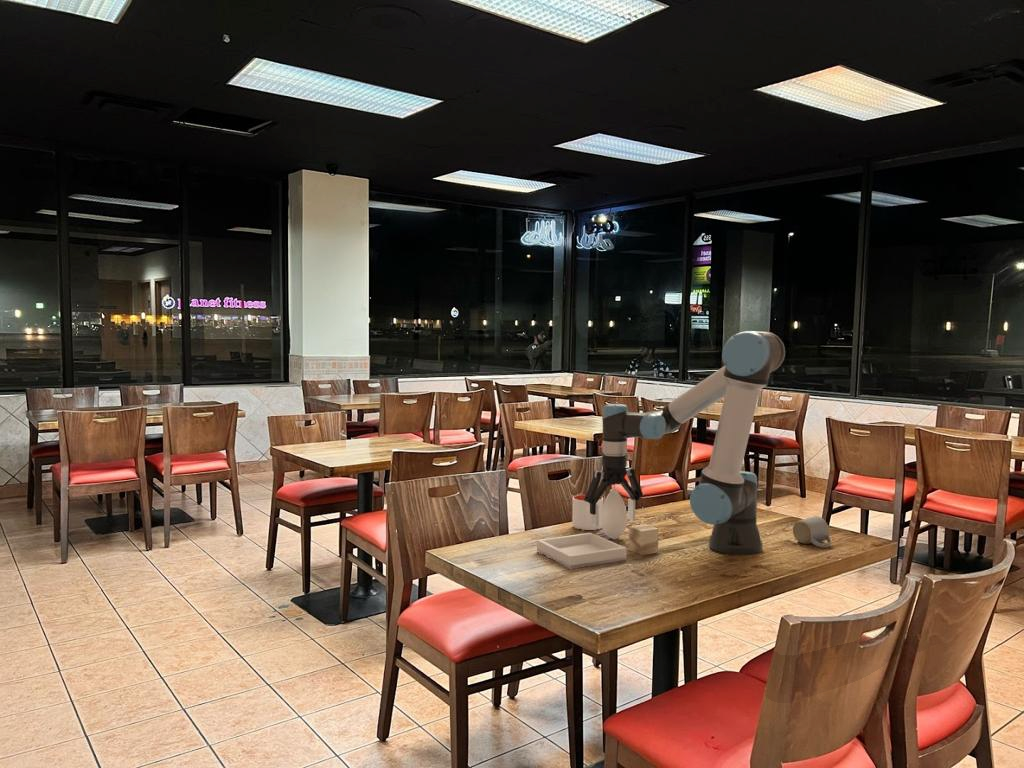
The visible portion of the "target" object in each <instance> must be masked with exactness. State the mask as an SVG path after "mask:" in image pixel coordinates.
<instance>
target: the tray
mask: <svg viewBox="0 0 1024 768" xmlns="http://www.w3.org/2000/svg"><path fill="white" fill-rule="evenodd" d="M537 551H539V552H540V553H542V554H544V555H546V556H548V557H550V558H551V559H553V560H555V561H556V562H555V561H554V562H555V563H557V562H558V563H557V564H559V563H560V564H559V565H561V564H562V565H561V566H563V565H564V566H563V567H564V568H566V567H567V568H566V569H568V568H569V569H568V570H574V569H573V568H575V569H580V568H579V567H581V568H586V567H585V566H588V567H592V566H591V565H594V566H598V564H600V565H604V564H605V563H606V564H610V563H611V564H612V563H617V562H623V561H627V547H625V546H623V545H621V544H619V543H615V542H614V541H610V540H609V539H607V538H605V537H602V536H600V535H598V534H595V533H592V532H586V533H585V532H584V533H578V534H573V535H572V534H571V535H564V536H558V537H557V536H555V537H549V538H541V539H537V540H536V552H537ZM540 553H539V554H540ZM542 554H541V555H542ZM544 555H543V556H544ZM546 556H545V557H546ZM551 559H550V560H551ZM553 560H552V561H553Z"/></svg>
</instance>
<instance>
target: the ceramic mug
mask: <svg viewBox="0 0 1024 768" xmlns="http://www.w3.org/2000/svg"><path fill="white" fill-rule="evenodd" d="M792 526H793V527H792V534H793V536H794V538H795V540H796V541H797V542H799V543H801V544H802V545H803V544H805V545H807V544H813V545H815V546H816V547H818V548H823V549H826V548H827V549H828V548H830V546H831V544H832V539H831V537H830V528H829V524H828V523H827V522H826V520H825V519H824V518H823V517H821V516H819V515H816V516H815V515H814V516H811V517H806V518H803V519H799V520H797V521H796V522H795V523H793V525H792ZM825 541H827V543H825ZM823 542H824V543H823Z"/></svg>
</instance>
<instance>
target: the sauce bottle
mask: <svg viewBox="0 0 1024 768" xmlns="http://www.w3.org/2000/svg"><path fill="white" fill-rule="evenodd" d="M619 491H620V490H618V489H616V484H615V485H613V488H611V489H610V490H609V493H608V494H607V496H606V497H605V499H604V500H603V507H602V513H601V523H602V528H601V529H602V530H603V532H604V534H605V535H606V536H607V537H608V538H609V539H611V538H612V539H611V540H617V539H619V538H621V536H624V533H625V531H626V528H627V525H628V511H627V509H626V504H625V501H624V500H623V497H622V495H621V494H620V493H619Z"/></svg>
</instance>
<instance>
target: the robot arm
mask: <svg viewBox="0 0 1024 768" xmlns="http://www.w3.org/2000/svg"><path fill="white" fill-rule="evenodd" d="M785 348H786V347H785V344H784V342H783V341H782V339H781V338H780V337H779V336H778V335H776V334H774V333H773V332H769V331H759V330H758V331H756V330H745V331H741V332H738V333H737V332H736V334H734V335H732V336H731V337H730V338H728V340H727V341H726V342H725V343H724V345H723V348H722V355H721V358H722V363H723V364H724V365H723V366H722V367H721V368H719V369H718V370H716V371H715V372H713V373H712V374H710V375H709V376H707V377H705V379H703V380H701V381H700V382H698V383H697V384H695V385H694V386H693V387H691V388H689V389H688V390H687V391H685V392H684V393H682V394H681V395H680V396H678V397H676V398H675V399H673V400H672V401H670V402H669V403H667V404H666V405H664V406H663V407H662V408H660V409H659V410H653V411H647V412H638V411H637V412H634V411H629V410H628V406H627V405H626V404H623V403H622V404H621V403H608V404H605V405H604V406H603V408H602V417H601V419H602V420H601V421H602V446H601V447H602V449H601V450H602V456H601V458H602V459H601V465H602V471H599V470H594V471H593V474H592V475H593V476H592V480H591V482H590V484H589V486H588V489H587V491H586V494H585V495H586V496H585V498H584V501H586V502H589V503H590V514H592V524H594V525H596V526H598V525H599V504H597V502H598V500H599V499H600V497H603V494H604V493H605V492H606V490H607V488H609V487H610V486H614V485H615V486H616V485H620V486H621V487H622V488H623V489H624V491H625V492H626V493H627V494H628V496H629V497H630V498H628V500H627V502H628V503H627V520H629V521H632V522H635V521H636V510H637V509H638V501H639V500H640V498H642V497H643V496H644V495H643V491H642V490H641V489H642V488H641V486H640V484H639V482H638V480H637V479H638V478H637V477H636V471H635V469H634V468H632V467H628V466H627V464H628V463H627V461H628V457H627V455H626V454H627V453H628V437H631V438H632V437H633V438H640V439H646V440H660V439H661V438H663V436H664V435H666V434H667V435H668V434H669V435H670V434H672V433H674V432H676V431H678V430H679V429H680V427H681V426H682V425H683V424H684V423H686V422H687V421H689V420H691V419H693V418H694V417H696V416H697V415H699V414H700V413H701V412H703V411H705V410H706V409H708V408H709V407H711V406H712V405H714V404H716V403H717V402H719V401H721V400H722V399H723V402H722V407H721V411H720V416H719V419H718V423H717V424H718V425H717V429H716V433H715V438H714V441H713V446H712V451H711V455H710V460H709V464H708V465H707V466H706V467H704V468H703V469H702V470H701V473H700V478H699V482H698V483H699V484H698V485H696V486H695V487H694V488H693V489H692V490H691V492H690V496H689V505H690V508H691V511H692V512H693V514H694V515H695V517H696V518H697V519H699V520H700V521H701V522H703V523H705V524H709V525H713V527H712V529H711V530H712V531H711V535H710V536H709V538H708V547H709V548H710V549H711V550H714V551H716V552H718V553H723V554H728V555H737V556H738V555H739V556H747V555H756V554H759V553H761V552H763V540H762V539H761V535H760V531H759V528H758V523H757V518H758V517H757V513H758V511H757V509H758V486H759V485H758V484H759V483H758V476H757V474H756V473H754V472H751V471H743V470H742V467H743V462H744V459H745V454H746V450H747V446H748V442H749V439H750V434H751V429H752V425H753V421H754V416H755V412H756V408H757V404H758V399H759V395H760V392H761V390H762V389H763V388H766V387H767V386H768V382H769V378H770V374H771V373H772V372H774V371H776V370H777V369H778V368H779V367H781V365H782V363H783V362H784V360H785V357H786V349H785ZM626 475H627V478H628V480H629V481H628V480H627V479H626V478H625V477H626ZM629 483H630V484H629Z"/></svg>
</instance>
